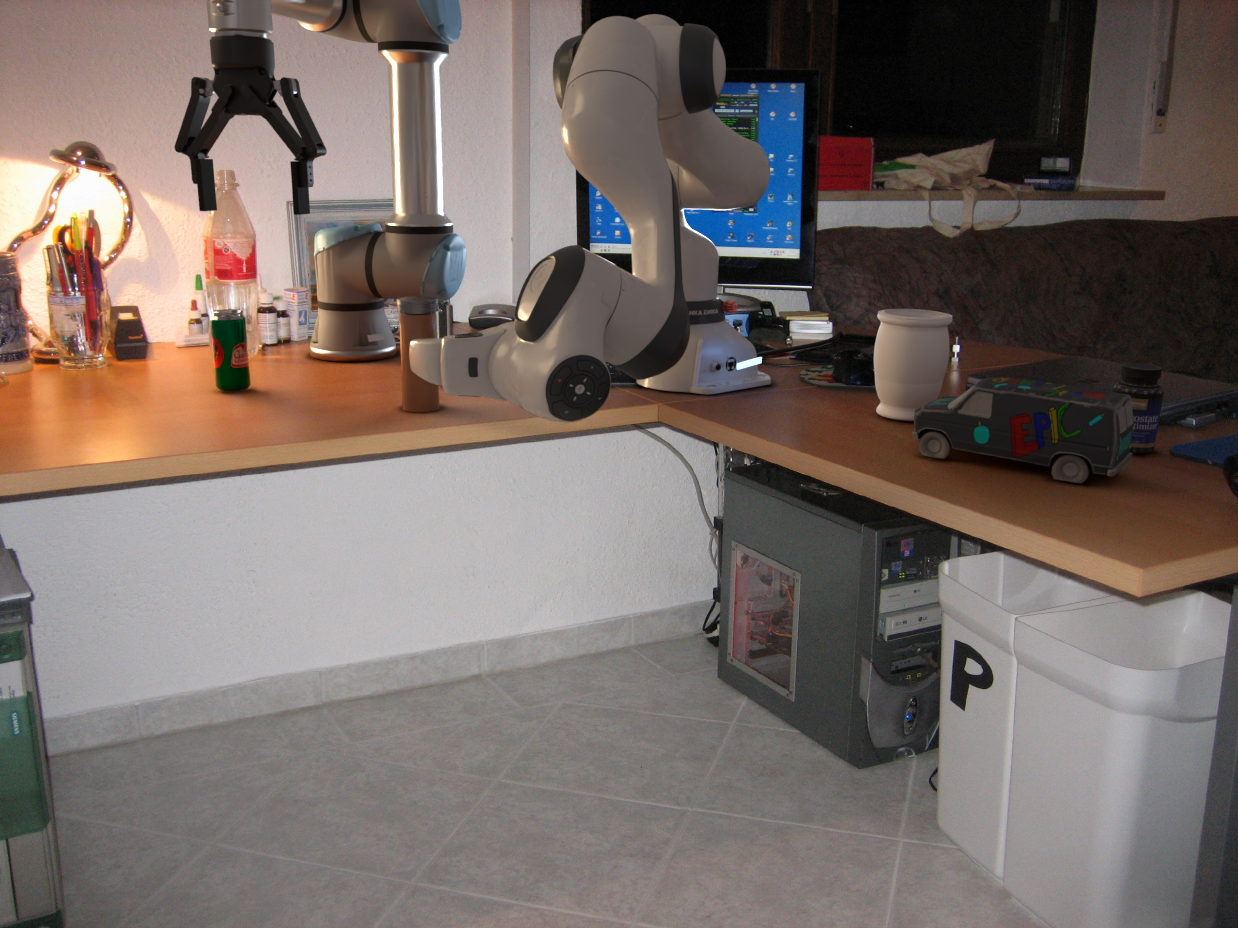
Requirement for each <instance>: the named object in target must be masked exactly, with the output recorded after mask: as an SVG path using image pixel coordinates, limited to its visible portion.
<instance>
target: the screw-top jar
mask: <svg viewBox="0 0 1238 928" xmlns="http://www.w3.org/2000/svg"><path fill="white" fill-rule="evenodd" d="M398 321H399V322H398V323H399V325H398V329H399V346H400V348H399V351H400V374H401V376H400V377H401V401H402V410H403V411H405V412H408V413H409V412H410V413H430V412H434V411H435V412H436V411H438V410H439V409H440V389H439V388H440V385H435V384H432V383H430V382H428V381H426V380H424V379H422V378H421V377H419V376H418V375H416V374H415V373H414V372H413V371H412V370H411V367H410V357H409V347H410V342H411V341H412V340H414V339H431V338H438V312H435V313H427V314H407V313H400V312H398Z"/></svg>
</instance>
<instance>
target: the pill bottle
mask: <svg viewBox="0 0 1238 928" xmlns="http://www.w3.org/2000/svg"><path fill="white" fill-rule="evenodd" d="M1162 371H1163V367H1161V366H1158V365H1155V364H1149V363H1142V362H1141V363H1140V362H1126V363H1122V365H1121V369H1120V375H1121V380H1119V381H1116V382H1115V383H1114V384H1113V385H1112V388H1111V392H1115V393H1121V394H1127V395H1129V396H1131V401H1132V410H1133V418H1134V426H1135V427H1134V430H1133V436H1132V441H1131V448H1130V451H1129V452H1131V453H1133V454H1140V455H1141V454H1148V453H1151V452H1153V451H1154V450H1155V448H1156V440H1157V435H1158V428H1159V424H1160V419H1161V418H1160V417H1161V412H1162V407H1163V399H1164V395H1165V391H1164V389H1163V387H1162V386H1161V385H1159V383H1158V381H1159V380H1160V379H1161V377H1162Z"/></svg>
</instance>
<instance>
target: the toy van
mask: <svg viewBox="0 0 1238 928" xmlns="http://www.w3.org/2000/svg"><path fill="white" fill-rule="evenodd" d="M1134 427H1135V426H1134V418H1133V410H1132V401H1131V396H1129V395H1127V394H1121V393H1115V392H1112V391H1108V390H1103V389H1102V390H1100V389H1094V388H1089V387H1081V386H1076V385H1068V384H1061V383H1054V382H1047V381H1042V380H1041V381H1040V380H1032V379H1026V378H1025V379H1024V378H1016V377H1015V378H1014V377H1003V376H989V377H985V378H982V379H981V380H979V381H977V382H976V383H975V384H974V385H972V386H971V387H970V388H969V389H967V390H966V391H964V392H963V393H962V394H960V395H959V396H950V395H946V396H942V397H939V398H937V399H936V400H934V401H931V402H929V403H926V404H924V405H923V406H921V407H919V408H918V409H916V410H915V414H914V421H913V431H912V432H911V435H912V438H913V440H914V441H918V449H919V450H918V451H919V452H920V453H921V455H922V456H925V457H931V458H937V459H942V460H945V459H947V458H948V457H949V456H950V455H951V452H952V449H953V450H958V451H963V452H969V453H974V454H979V455H984V456H990V457H991V456H992V457H997V458H1002V459H1008V460H1013V461H1017V462H1018V461H1019V462H1024V463H1028V464H1034V465H1039V466H1043V467H1044V466H1045V467H1051V466H1052V467H1051V476H1052V479H1053V480H1058V481H1062V482H1068V483H1074V484H1083V483H1084V482H1086V481H1087V480H1088V479H1089V475H1090V473H1091V472H1092V474H1095V475H1105V476H1107V477H1115V475H1116V474H1118V473H1119V472H1120V471H1121V470H1122V469H1123V468H1125V466H1126V464H1127V463H1129V462H1130V460H1131V458H1132V456H1133V455H1134V453H1131V452H1129V451H1130V448H1131V441H1132V436H1133V430H1134ZM1090 471H1091V472H1090Z"/></svg>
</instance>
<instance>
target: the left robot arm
mask: <svg viewBox="0 0 1238 928" xmlns="http://www.w3.org/2000/svg"><path fill="white" fill-rule="evenodd" d="M206 10H207V24H208V30H209V31H210V32H211V33H212V34H213V33H214V36H211V37H210V39H209V49H210V60H211V61H210V64H211V66H212V68H213V71H214V77H213V79H209V78H208V77H207V78H206V77H199V76H193V77H191V80H190V84H191V85H190V97H189V101H188V103H187V107H186V109H185V113H184V116H183V119H182V122H181V126H180V128H179V131H178V134H177V138H176V141H175V144H174V151H175V152H176V153H177V154H183V155H185V156H187V157H188V159H189V163H190V173H191V181H192V183H193V184H194V185H196V186H197V199H198V210H199V212H213V211H218V206H217V205H218V204H217V193H216V192H217V191H216V182H215V179H216V178H215V169H214V159H213V158H210V155H209V153H210V151H211V149H212V148H213V147H214V146H215V144H216V142H217V141H218V139H219V137H220V136H221V134H222V133H223V131H224V130H225V127H226V126H227V125H228V123H229V122H230V120H232V119H233V118H235V116H257V117H259V116H260V117H261V118H262V119H265V120H266V122H267V123H268V124H269V126H271V128H272V129H273V131H274V132H275V133H276V134H277V136H278V137H279V138H280V140H281V141H282V142H283V143H284V144H285V146H286V147H287V148H288V150H289V151H290V153H291V154H292V155H293V157H294V158H293V161H291V160H290V176H291V177H290V178H291V193H292V207H293V210H292V211H293V215H294V216H302V215H311V205H310V204H311V203H310V189H309V188H314V184H315V180H314V177H315V176H314V161H315V159H318V158H320V157H323V156H326V155H327V154H328V153H327V152H328V150H327V147H326V145H325V143H324V141H323V139H322V137H321V135H320V133H319V131H318V129H317V127H316V125H315V123H314V121H313V118H312V116H311V113H310V112H309V110H308V108H307V106H306V104H305V102H304V99H303V98H302V93H301V87H300V82H299V80H298V79H297V78H294V77H293V78H292V77H285V76H283V77H281V78H280V79H276V77H275V69H276V59H275V56H276V55H275V45H274V42H273V41H272V39H270V38H269V36H272V35H273V34H274V29H273V28H274V27H273V26H274V25H273V16H276V17H281V18H284V19H289V20H294V21H296V22H297V23H298V24H299V25H300V26H301V27H302V28H304V29H306V30H308V31H311V32H316V33H320V34H324V35H327V36H331V37H334V38H339V39H343V40H346V41H351V42H357V43H363V44H365V43H366V44H377V54H378V55H379V57H380V58H381V59H383V61H385V63H386V65H387V77H388V100H389V101H388V102H389V103H388V104H389V122H390V123H389V127H390V129H389V130H390V149H391V150H390V153H391V179H392V181H391V182H392V200H393V201H392V203H393V204H392V205H393V212H392V213H391V215H390V216H388V218H387V220H386V221H385V222H384V225H385V226H384V227H385V228H384V230H385V231H383V228H382V226H381V224H380V223H379V222H371V223H362V224H354V225H344V226H336V227H335V226H334V227H327V228H321V229H319V230H318V231H317V232H316V233H315V235H314V246H313V247H314V249H313V258H314V269H315V280H316V284H315V285H316V297H317V310H318V311H317V316H316V321H315V323H314V327H313V331H312V335H311V338H310V342H309V355H310V356H311V357H312V358H314V359H317V360H323V361H331V362H366V361H376V360H382V359H387V358H390V357H394V356H395V355H396V354H397V342H396V339H395V337H394V334H395V333H397V332H398V331H399V326H398V327H397V328H395V327H393V328H392V329H391V328H390V322H389V320H388V317H387V314H386V311H385V299H387V300H397V298H401V297H410V296H426V297H435V298H438V302H444V301H448V300H451V299H452V298H453V297H454V296H455V295H456V294H457V292H458V291H459V289H460V287H461V285H462V283H463V281H464V276H465V273H466V267H467V247H466V246H465V244H466V242H465V240H464V239H463V237H462V236H461V235H460V234H457V233H456V232H455V233H454V222H453V221H452V220H451V219H450V218H449V217H448V215H446V212H445V201H444V197H445V196H444V194H445V193H444V163H443V160H444V157H443V124H442V122H443V121H442V120H443V119H442V86H441V83H442V82H441V66H442V64H443V63H444V62H445V61H446V60H447V59H448V58H449V56H450V45H452V44H454V43H456V42H457V41H458V40H459V39H460V37H461V30H462V25H463V24H462V22H463V21H462V10H461V4H460V0H206ZM214 94H215V95H216V96H217V97H218V98H217V100H216V101H215V103H213V106H212V107H211V113H210V114H209V116H208V117H207V119H206V121H205V118H206V116H207V113H208V110H209V106H210V103H211V100H212V99H211V98H212V97H213V95H214ZM277 94H279V96H280V97H281V98H282V100H283V102H284V105H285V107H286V109H287V111H288V113H289V115H290V117H291V119H292V121H293V124H294V126H295V127H294V126H293V125H292V123H291V122H290V121H289V120H288V119H287V118H286V116H285V115H284V111H283V110H282V109H281V106H279V105H278V103H277V102H276V101H275V97H276V95H277ZM204 121H205V122H204ZM295 128H296V129H297V130H296V129H295Z"/></svg>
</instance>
